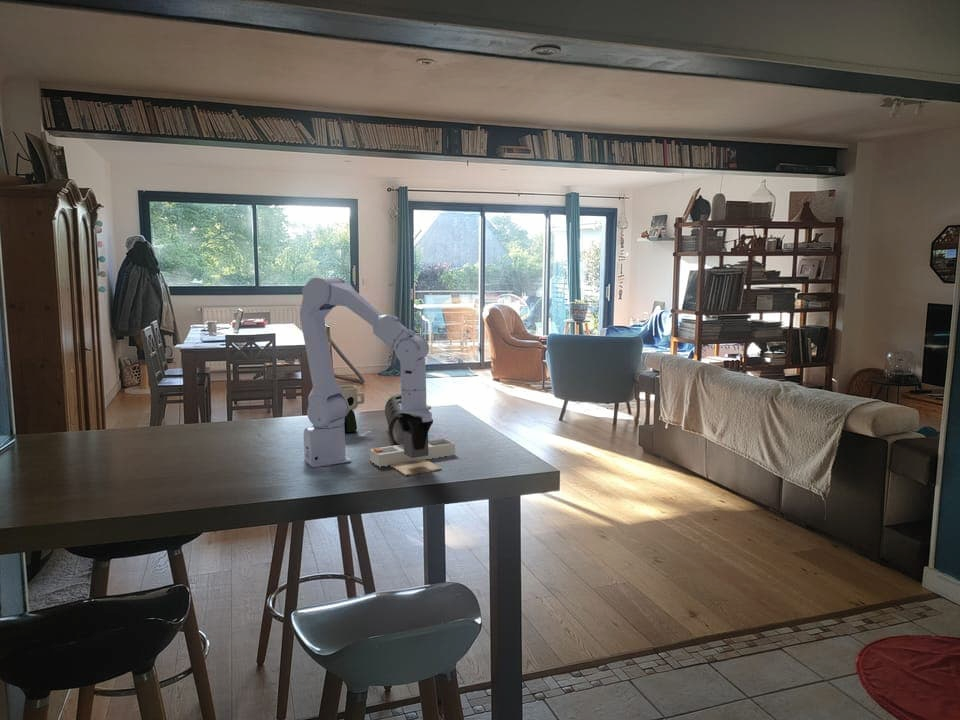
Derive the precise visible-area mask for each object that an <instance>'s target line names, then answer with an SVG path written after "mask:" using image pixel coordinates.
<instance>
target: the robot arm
mask: <svg viewBox="0 0 960 720" xmlns="http://www.w3.org/2000/svg"><path fill="white" fill-rule="evenodd" d="M301 293H302V301H301V305H300V310H299V320H300V325H301V329H302V335H303V339H304V340H303V341H304V346H305V351H306V356H307V364H308V368H309V373H310V377H311V383H312V389H311V390H310V392H309V394H308V397H307V399H308V401H307V402H308V405H307V412H306V414H307V418H308V420H309V422H310V423H311V424H312V426H310V427H309V426H308V427H305V428H304V429H303V450H304V451H303V452H304V457H303V460H304V461H305V462H306V463H307V464H308V465H310V467H312V468H319V467H324V466H325V467H326V466H332V465H337V464H339V465H340V464H344V463H350V462H352V459H351V458H350V457H348V456H346V433H345V432H346V430H345V427H344V422H345V417H346V415H347V414H348V412H349V404H348V401H347V400H346V398H345V397H344V394H343V390H342V388H341V387H340V384H338V383H337V381H336V376H335V371H334V364H333V360H332V359H333V358H332V353H331V347H330V343H329V338H328V337H329V336H328V332H327V327H326V322H325V319H326V317H327V316H328V315H329V313H330V312H331V311H332V309H333V308H336V307H338V306H341V307H346V308H347V309H349V310H350V311H351V312H353V313H354V314H355V315H357V316H358V317H360V318H361V319H363V321H365V322H366V323H368V324H369V325H371V326H372V332H373V335H375V336H376V337H377V338H378V339H380V340H381V341H382V342H383V343H384V344H386V345H387V346H388V347H389V348H391V349H392V350H393V351H394V353H395V356H396V358H397V359H398V360H399V363H400V365H399V366H400V393H401V403H398V411H399V412H402V413H403V414H402V415H397V416H396V418H397V420H398V421H399V423H400V425H401V428H402V431H403V434H404V431H406V430H411V432H412V436H413V444H414V448H415V450H420V449H424V447H425V443H426V438H427V434H428V435H429V431H430V429H431V427H432V425H433V423H434V419H433V415H432V414H433V413H432V411H430V410H432V406H431V405H430V404H427V373H426V372H427V369H426V357H427V356H428V354H429V350H430V346H429V342H428V341H427V339H426V338H425V337H424V336H423V335H421V334H414V333H415V332H414V331H413V330H412V329H408V328H407V327H406V326H405V325H403V324H402V323H401V322H400V321H398V320H399V317H397V316H396V315H391V314H389V313H388V314H382V313H381V312H380V311H378V309H377V308H375V307H374V306H373V305H372V304H370V302H368V300H366V299H365V297H363V296H362V295H361V294H360V293H359V292H358V291H356V290H355V289H354V287H353V286H352V285H351V284H350V283H348V282H346V281H345V280H344V279H343V278H341V277H338V276H332V277H319V276H318V277H316V276H315V277H312V278H311V279H309V280H308V281H307V283H306V284H305V285H304V286H303V287H302V289H301Z"/></svg>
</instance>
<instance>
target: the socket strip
mask: <svg viewBox="0 0 960 720" xmlns="http://www.w3.org/2000/svg"><path fill="white" fill-rule="evenodd" d="M452 455H453V456H456V443H455V442H454V441H451V440H449V439H446V438H443V437H442V438H436V439H428V456H422V457H416V458H411V457H409V456H407V455H405V454H404V444H402V445H397V444H396V445H388V446H384V447H383V446H382V447H375V448H370V449H369V462H370V461H371V462H370V463H372V464H373V463H374V465H375V466H376V465H377V466H376V467H378V466H379V467H378V468H382V467H381V466H385V467H389V466H388V465H391V464H397V463H404V462H410V461H416V460H422V459H428V460H433V459H432V458H434V459H439V457H441V458H445V456H447V457H452Z"/></svg>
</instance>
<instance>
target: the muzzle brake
mask: <svg viewBox="0 0 960 720" xmlns="http://www.w3.org/2000/svg"><path fill="white" fill-rule="evenodd" d="M398 403H401V394H395V395H392V396H391V397H390V398H389V399H388V400H387V401H386V403H385V406H384V415H385V418H386V422H387V424H388V426H387V427H388V433H389V436H390V439H391V440H392V441H393V442H394V443H395V444H396V445H402V444H404V434H403V431H402V428H401V425H400V423H399V421H398V420H397V418H396V416H397V415H402V414H403V413H402V412H399V411H398Z"/></svg>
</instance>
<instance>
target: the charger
mask: <svg viewBox="0 0 960 720" xmlns="http://www.w3.org/2000/svg"><path fill="white" fill-rule="evenodd" d="M428 441H429V433H428V434H427V438H426V443H425V447H424V449H420V450H415V448H414V444H413V436H412V432H411V430H406V431H404V454H405V455H407V456H409V457H411V458H416V457H422V456H428Z"/></svg>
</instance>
